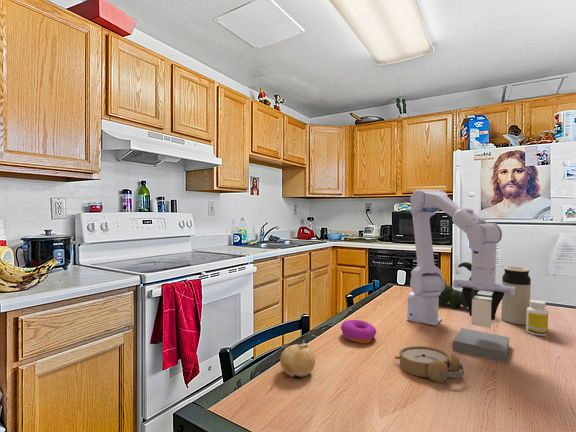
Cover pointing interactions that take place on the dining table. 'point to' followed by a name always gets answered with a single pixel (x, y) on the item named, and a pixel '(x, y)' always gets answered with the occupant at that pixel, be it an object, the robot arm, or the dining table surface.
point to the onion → (297, 360)
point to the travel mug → (516, 295)
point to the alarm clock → (430, 363)
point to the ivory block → (481, 311)
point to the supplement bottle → (537, 318)
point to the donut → (358, 331)
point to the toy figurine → (455, 292)
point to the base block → (481, 344)
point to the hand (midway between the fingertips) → (482, 317)
